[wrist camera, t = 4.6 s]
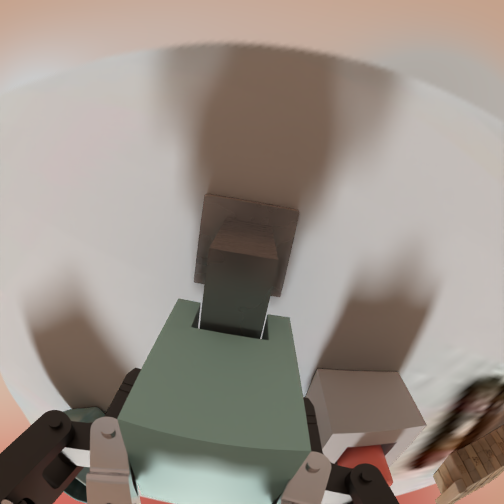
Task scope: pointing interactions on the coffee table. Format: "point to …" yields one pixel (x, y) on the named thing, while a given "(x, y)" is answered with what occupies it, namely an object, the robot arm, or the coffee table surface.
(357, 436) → the cabinet
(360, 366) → the coffee table surface
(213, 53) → the coffee table surface
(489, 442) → the block tower
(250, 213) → the handrail
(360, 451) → the button
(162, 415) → the carriage
